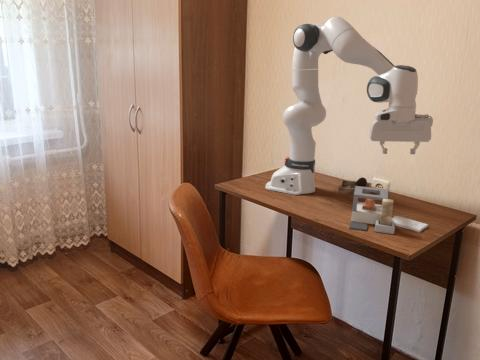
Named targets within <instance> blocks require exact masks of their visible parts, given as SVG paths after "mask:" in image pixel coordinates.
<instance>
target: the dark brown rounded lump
mask: <svg viewBox="0 0 480 360" xmlns="http://www.w3.org/2000/svg"><path fill="white" fill-rule="evenodd" d="M356 181H357V182H356V185H355V186H347V188H353V189H355V187H356V186H361V187H366V185H367V182H368V181H367V179H366V178H365V177H360V178H358V179H357V180H356Z"/></svg>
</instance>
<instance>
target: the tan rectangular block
mask: <svg viewBox="0 0 480 360" xmlns="http://www.w3.org/2000/svg"><path fill="white" fill-rule="evenodd" d="M381 205H382V210H381V218H380V225H387V226H390V224H391V218H392V215H393V208H394V199H391V198H388V199H383V202H382V201H381Z"/></svg>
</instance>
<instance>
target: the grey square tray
mask: <svg viewBox="0 0 480 360" xmlns="http://www.w3.org/2000/svg"><path fill="white" fill-rule="evenodd" d="M395 226H396V225H395V221H391V224H390V226H387V225H380V219H376V222H375V224H374V232H375V233H377V232H378V233H383V234H390V235H391V234H392V235H394V234H395V230H396V227H395Z"/></svg>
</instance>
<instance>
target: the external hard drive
mask: <svg viewBox="0 0 480 360" xmlns="http://www.w3.org/2000/svg"><path fill="white" fill-rule="evenodd" d="M391 221H395V226H397V227H401V228H404V229H407V230H410V231H411V230H412V231H415V232H418V233H421V232H422V231H423V230H425V229H427V228H428V227H429V224H428V223H424V222H421V221H416V220H414V219H411V218H406V217H403V216H400V215H394V216H393V217H391Z"/></svg>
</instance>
